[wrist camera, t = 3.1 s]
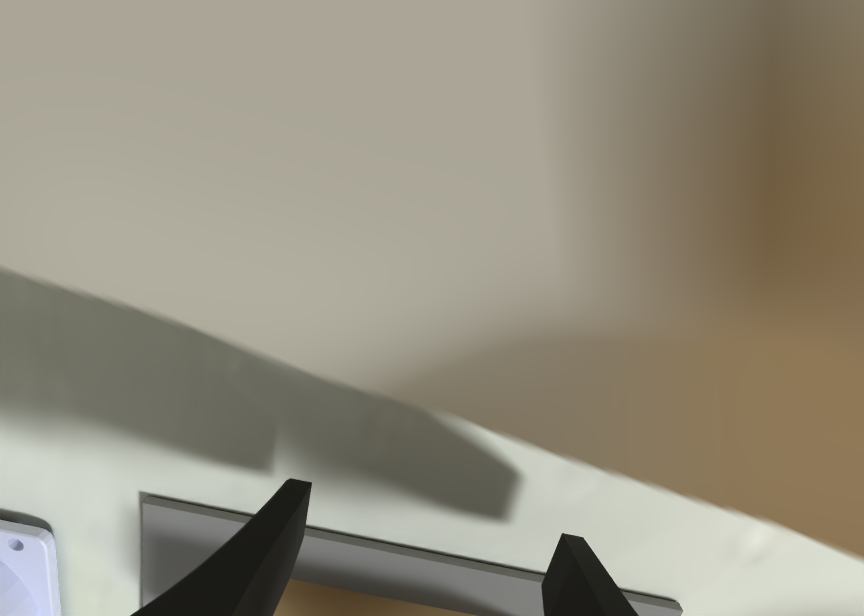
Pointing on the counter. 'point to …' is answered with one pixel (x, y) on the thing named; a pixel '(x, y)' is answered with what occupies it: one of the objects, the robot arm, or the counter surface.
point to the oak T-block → (347, 603)
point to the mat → (352, 566)
